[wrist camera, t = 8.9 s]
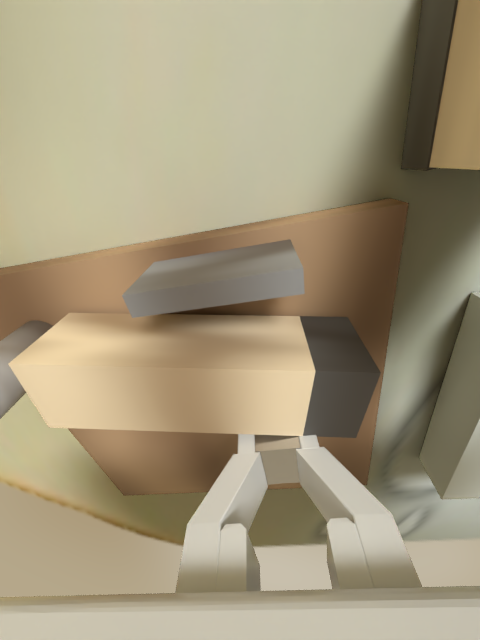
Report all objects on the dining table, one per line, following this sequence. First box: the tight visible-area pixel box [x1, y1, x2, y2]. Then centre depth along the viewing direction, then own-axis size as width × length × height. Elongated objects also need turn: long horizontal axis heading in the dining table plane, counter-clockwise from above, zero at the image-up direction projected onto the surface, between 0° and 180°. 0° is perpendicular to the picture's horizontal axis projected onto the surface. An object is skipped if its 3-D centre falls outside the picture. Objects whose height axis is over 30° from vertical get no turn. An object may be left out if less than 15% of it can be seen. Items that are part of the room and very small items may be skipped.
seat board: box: [0, 198, 409, 495], centre depth 10 cm, size 14×14×4 cm
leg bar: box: [8, 313, 381, 438], centre depth 8 cm, size 9×2×2 cm, turn 90°
